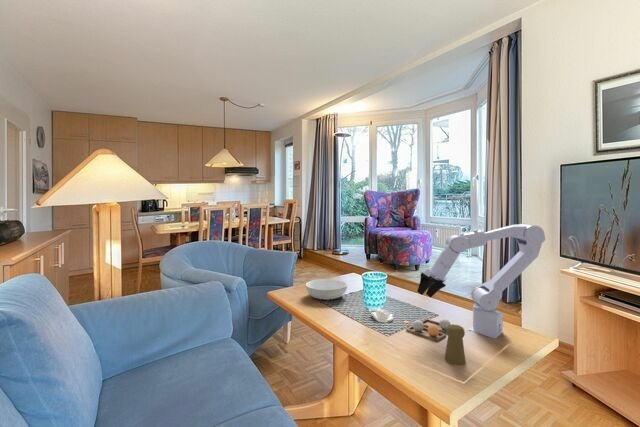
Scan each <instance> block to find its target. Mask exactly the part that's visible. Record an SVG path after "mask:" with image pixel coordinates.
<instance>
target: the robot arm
mask: <svg viewBox="0 0 640 427" xmlns="http://www.w3.org/2000/svg"><path fill="white" fill-rule="evenodd" d="M504 238H505V239H507V238H514V239H515V240H516V242H517V244H518V248H519V251H518V252H517V253H516V254H515V255H514V256H513V257H512V258H511V259H510V260H509V261H508V262H507V263H506V264H505V265H504V266H502V268H501V269H500V270H499V271H498V272H497V273H496V274H495V275H494V276H493V277H492V278H491V279H490V280H489V281H486V282H483V283H482V284H481V285H479V286H477V287H474V288H473V289H472V290H471V294H470V295H471V296H470V298H471V299H472V300H473V302H474V303H473V307H472V327H470V328H468V329H467V331H470V332H473V333H476V334H479V335H483V336H486V337H489V338H492V339H496V338H498V337H499V336H500V335H502V334H503V333H504V331H503V328H504V327H503V325H504V324H503V319H504V317H503V313H502V312H501V311H499V310H497V309H496V308H497V307H498V305H499V302H500V301H501V300H502V298H503V292H504V290H505V289H506V288H508V287H509V285H510V284H511V283H513V282H514V281H515V280H516V279H517V278H518V277H519V276H520V275H521V274H522V273H523V272H524V271H525V270H526V269H527V268H528V267H529V266H530V265H531V264H532V262H534V261H535V260H536V259H537V258H538V257H539V254H540V251H541V248H542V245H543V243H544V242H545V241H546V235H545V231H544V229H543V228H542V227H541V226H539V225H533V224H532V225H531V224H527V223H519V224H511V225H507V226H504V227H499V228H496V229H492V230H489V231H486V232H484V231H483V230H480V229H472V231H471V232H467V233H464V232H460V233H459V235H456V234H454V235H451V236H449V237H448V238H446V240H445V244H446V245H445V246H444V247H443V249H442V251H441V252H440V253H439V255H438V257H437V259H436V260H435V261H434V263H433V265H432V266H431V267H430V268H426V269H425V271H424V272H421V273H420V280H419V284H418V286H417V291H416V292H417V293H419V294H420V295H421V296H423V295H424V294H425V295H426V296H428V297H429V298H432V297H434V296H435V294H436V293H437V292H439V291H440V290H442V289H443V288H445V287H446V286H447V284H445V283H446V281H447V278H446V277H447V275H448V273H449V272H450V270H451V268H452V267H453V265H454V264H455V263H456V260H457V259H458V257H459V256H460V254H461V253H464V252H466V250H469V249H474V248H478V247H482V246H485V245H486V244H487V243H488V242H490V241H495V240H500V239H504Z"/></svg>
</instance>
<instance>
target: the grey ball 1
mask: <svg viewBox="0 0 640 427" xmlns="http://www.w3.org/2000/svg"><path fill="white" fill-rule="evenodd" d="M421 321H422V320H419V319H417V320H415V321H413V323H412V324H413V325H412V326H413V328H414V330H416V331H418V332H420V331H422V330H423V329H424V324H423V322H421Z"/></svg>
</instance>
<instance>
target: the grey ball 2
mask: <svg viewBox="0 0 640 427" xmlns="http://www.w3.org/2000/svg"><path fill="white" fill-rule="evenodd" d="M438 322H439V325H440V327H441V329H443V330H446V329H447V327H448V326H449V325H452V324H451V321H449V319H446V318H441V320H439V321H438Z"/></svg>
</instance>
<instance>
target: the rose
mask: <svg viewBox="0 0 640 427" xmlns="http://www.w3.org/2000/svg"><path fill="white" fill-rule="evenodd" d="M370 315H371V316H373V317H372V318H374V320H375V321H377V322H379V323H389V322H392V321H393V320H394V314H392V313H391V312H389V311H388V310H386V309H382V308H378V309H377V310H375V312H374V311H373V312H370Z"/></svg>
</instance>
